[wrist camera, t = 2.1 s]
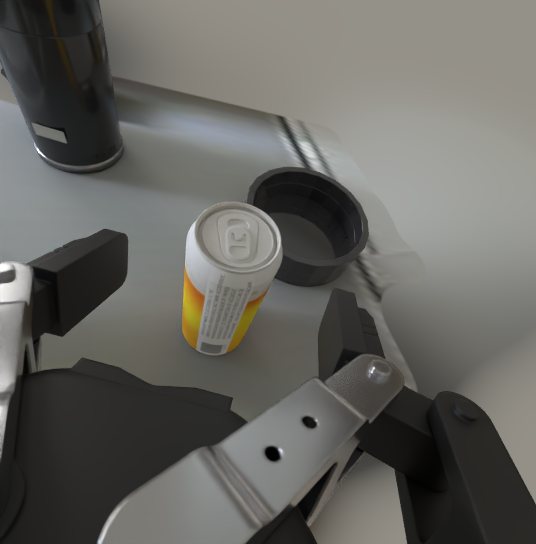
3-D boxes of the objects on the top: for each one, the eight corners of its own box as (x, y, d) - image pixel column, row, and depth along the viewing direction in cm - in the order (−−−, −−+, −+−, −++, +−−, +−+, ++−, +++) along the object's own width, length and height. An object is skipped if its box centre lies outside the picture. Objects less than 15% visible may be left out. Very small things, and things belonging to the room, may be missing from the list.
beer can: (243, 300, 34) (282, 202, 22) (245, 358, 31) (292, 281, 18) (184, 298, 32) (190, 191, 20) (179, 357, 29) (183, 274, 17)
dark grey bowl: (214, 225, 38) (218, 199, 34) (290, 177, 46) (300, 152, 42) (306, 310, 35) (321, 291, 31) (370, 244, 43) (389, 222, 39)
